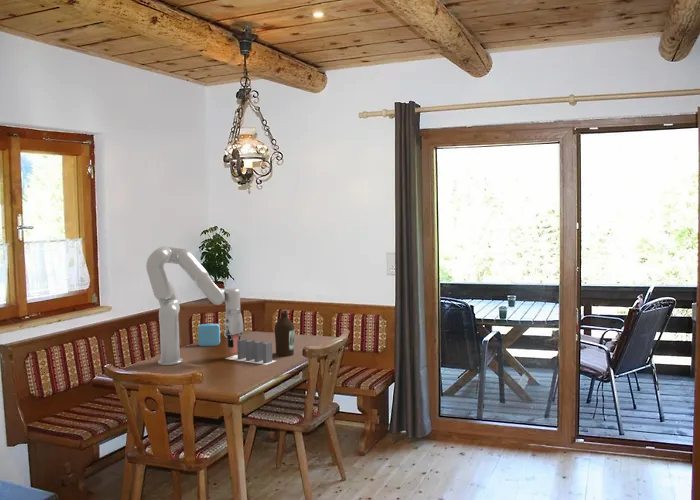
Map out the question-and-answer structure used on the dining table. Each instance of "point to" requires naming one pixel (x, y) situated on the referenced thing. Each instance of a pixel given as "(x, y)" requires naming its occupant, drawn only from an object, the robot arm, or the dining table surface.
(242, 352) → the domino
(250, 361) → the board
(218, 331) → the light blue square slab
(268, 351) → the domino
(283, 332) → the olive oil
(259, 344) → the domino
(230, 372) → the dining table surface
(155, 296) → the robot arm
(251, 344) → the domino
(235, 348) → the red domino
